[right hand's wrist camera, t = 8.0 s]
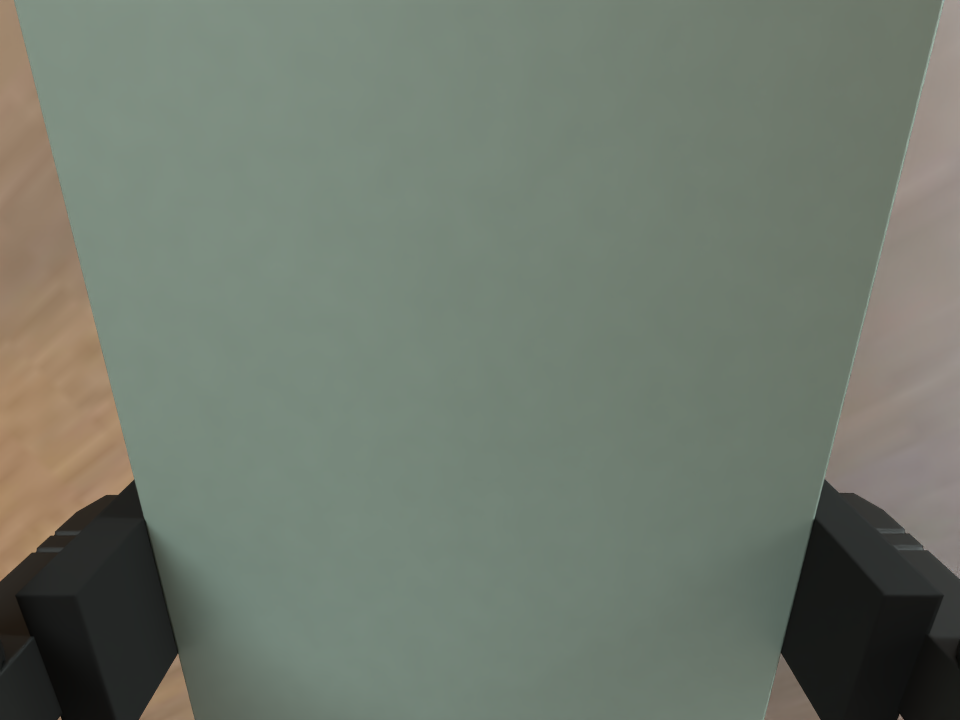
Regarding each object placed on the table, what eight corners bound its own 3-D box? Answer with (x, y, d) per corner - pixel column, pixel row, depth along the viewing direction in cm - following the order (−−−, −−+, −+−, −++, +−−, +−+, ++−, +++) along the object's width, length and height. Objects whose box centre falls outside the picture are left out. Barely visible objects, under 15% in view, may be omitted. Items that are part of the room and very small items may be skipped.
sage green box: (286, -42, 15) (-95, -418, 5) (672, -42, 15) (1052, -417, 5) (340, 485, 20) (212, 794, 11) (619, 485, 20) (746, 795, 11)
